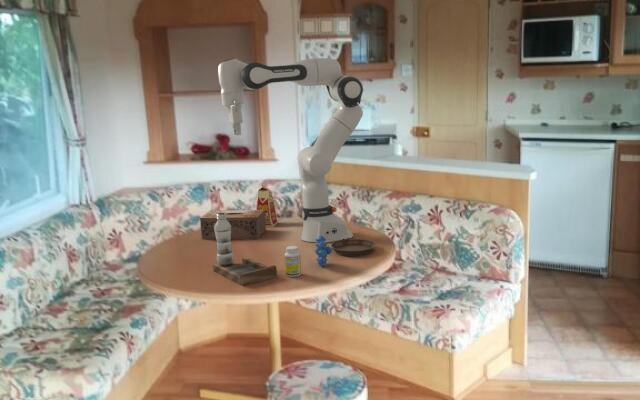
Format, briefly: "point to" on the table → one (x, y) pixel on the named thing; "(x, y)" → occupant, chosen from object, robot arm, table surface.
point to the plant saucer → (353, 247)
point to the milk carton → (267, 206)
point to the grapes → (322, 250)
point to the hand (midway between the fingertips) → (237, 134)
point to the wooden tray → (247, 272)
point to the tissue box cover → (235, 223)
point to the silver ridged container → (223, 240)
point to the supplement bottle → (292, 262)
